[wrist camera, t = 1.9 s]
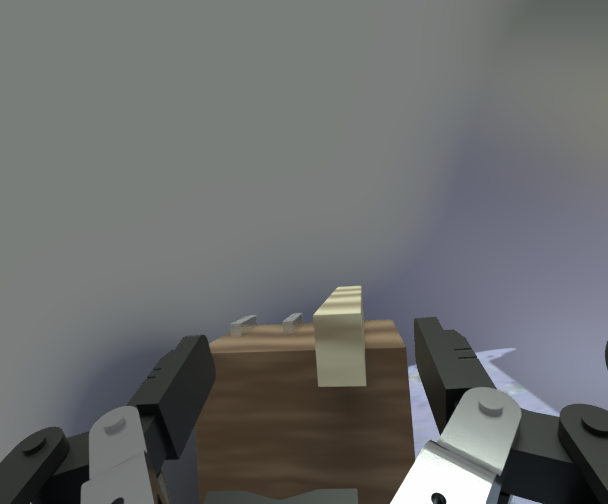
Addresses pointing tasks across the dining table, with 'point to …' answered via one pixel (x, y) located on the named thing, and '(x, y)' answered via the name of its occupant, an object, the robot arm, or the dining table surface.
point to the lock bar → (340, 339)
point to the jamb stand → (305, 418)
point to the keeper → (250, 323)
